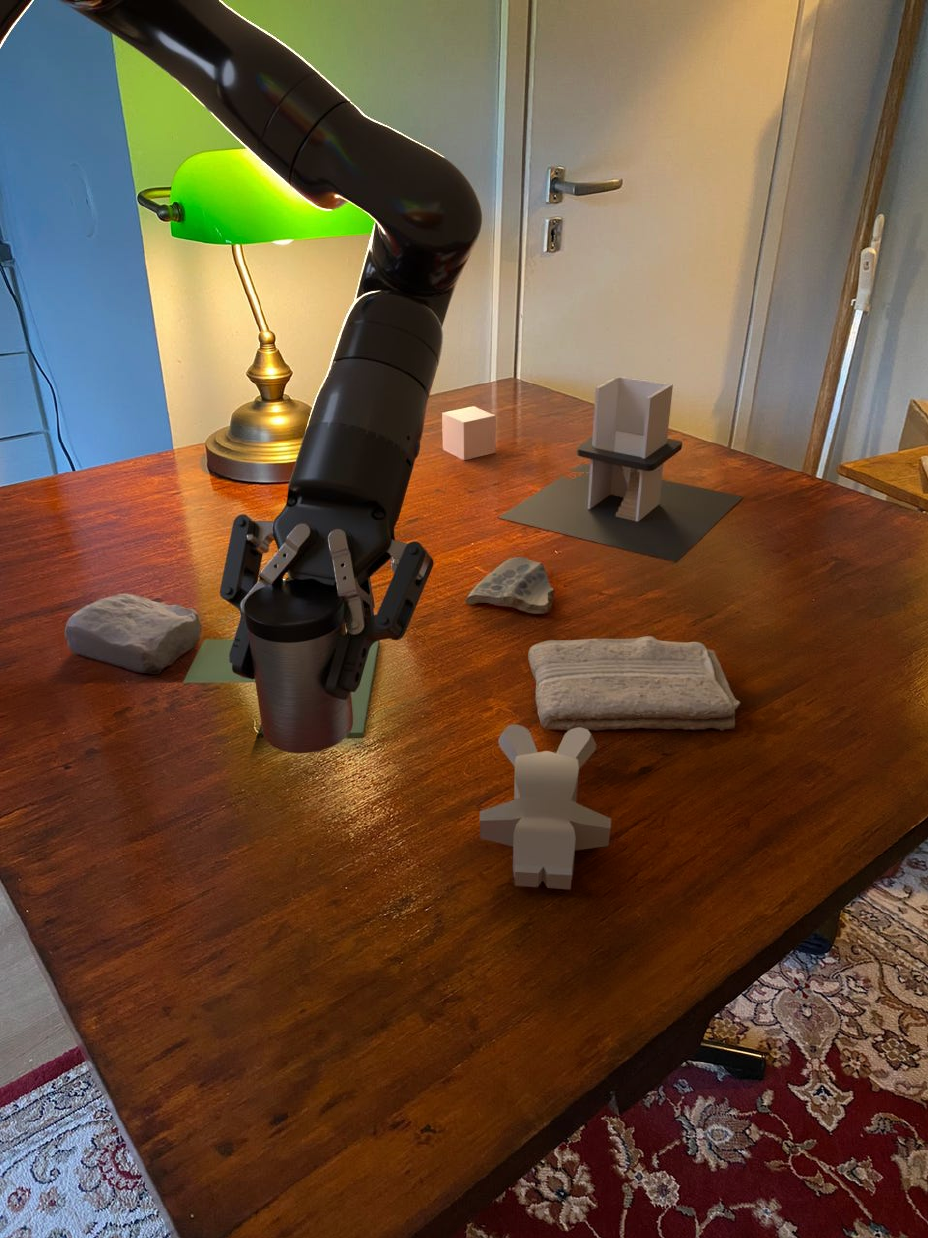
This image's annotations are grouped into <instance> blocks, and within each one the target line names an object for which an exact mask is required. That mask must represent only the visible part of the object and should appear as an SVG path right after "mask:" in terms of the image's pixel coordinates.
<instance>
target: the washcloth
mask: <svg viewBox="0 0 928 1238" xmlns="http://www.w3.org/2000/svg"><path fill="white" fill-rule="evenodd" d="M527 659H528V663H529V666H530V671H531V674H532V677H533V678H534V680H535V689H534V691H535V705H536V708H537V710H536V712H537V714H538V718H539V723H540V725H541V726H542V728H543V729H545V730H549V731H550V730H554V731H557V730H559V731H566V732H568V731H569V730H571V729H574V728H579V727H581V728H585V729H588V731H604V730H625V729H626V730H630V729H631V730H632V729H640V728H642V729H652V730H655V729H656V730H659V729H661V730H675V729H679V730H680V729H681V730H683V731H688V730H690V731H696V730H707V729H714V730H718V731H719V730H720V731H722V732H723V731H724V730H733V729H734V728H735V727H736V717H735V716H736V710H737V709H738V707H739V706H740V705H741V702H740V701H739V700H737V698H735V695H734V693H733V692H732V690H731V686H730V685H729V682H728V680H727V677H726V675H725V672H724V670H723V667H722V665H721V663H720V660H719V659H718V657H717V654H716V651H715V650H713V649H708V648H706V645H705V644H703V643H702V642H699V641H691V642H690V641H689V642H684V641H683V642H682V641H679V642H678V641H667V640H660V639H657V638H655V636H651V635H645V636H641V637H636V638H587V639H572V640H571V639H568V640H567V639H566V640H564V639H563V640H557V639H556V640H554V639H550V640H545V641H542V642H539V643H535V644H534V645H532V646H531V647H530V648H529V650H528V654H527Z"/></svg>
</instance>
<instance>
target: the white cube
mask: <svg viewBox="0 0 928 1238" xmlns="http://www.w3.org/2000/svg"><path fill="white" fill-rule="evenodd" d="M496 418H497V417H496V415H495V414H494V413H491V412H488V411H487V410H484V409H481V408H479V407H478V406H474V405H473V406H468V407H463V408H458V409H453V410H449V411H444V412H441V428H442V429H441V431H442V432H441V433H442V435H441V436H442V451H445V452H446V453H448V454H450V455H451V456H452V455H453V456H454V457H457V458H458V459H461V460H462V461H467V460H471V459H475V458H478V457H479V458H480V457H483V456H487V455H492V454H495V453H496V434H497V433H496V428H497V427H496V426H497V425H496V423H497V422H496V421H497V420H496Z"/></svg>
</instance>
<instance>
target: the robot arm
mask: <svg viewBox="0 0 928 1238" xmlns="http://www.w3.org/2000/svg"><path fill="white" fill-rule="evenodd" d="M34 1H35V0H0V49H1V47H2V46H3V44H4V42H6V39H7V37H8V36H9V34H10V33H11V31H12V30H13V28H14V27H15V26H16V24H18V22H19V20H20V19H21V18H22V17H23V15H24V14H25V12H26V11H27V10H28V9H29V7H30V6H31V5H32V3H33V2H34ZM57 2H60V3H62V4H63V5H65V6H67V7H68V8H70V9H71V10H73V11H75V12H77V13H78V14H80V15H82V16H83V17H85V18H86V19H88V20H89V21H92V22H93V23H95V24H96V25H98V26H100V27H101V28H102V29H104V30H106V31H108V32H109V33H111V34H112V35H114V36H115V37H117V38H119V39H120V40H122V41H123V42H124V43H126V44H128V45H129V46H131V47H132V48H134V49H135V50H137V51H138V52H139V53H141V54H142V55H144V56H145V57H146V58H148V59H149V60H150V61H152V62H153V63H154V64H155V65H156V66H158V67H159V68H161V69H162V70H163V71H165V72H166V73H167V74H168V75H169V76H170V77H172V78H173V79H174V80H175V81H176V82H178V83H179V84H180V85H181V86H182V87H183V88H184V89H185V90H187V92H189V93H190V94H191V95H192V96H193V97H194V98H195V99H196V100H197V101H198V102H199V103H200V104H201V105H202V106H203V107H204V108H205V109H206V110H207V111H208V112H209V113H211V115H212V116H213V117H214V118H215V119H216V120H217V121H218V122H219V123H220V124H221V125H222V126H223V127H224V128H225V129H226V130H227V131H228V132H229V133H231V134H232V136H233V137H235V139H236V140H238V141H239V143H241V144H242V145H243V146H244V147H245V148H246V149H247V150H248V151H250V153H252V155H254V156H255V157H256V158H257V159H258V160H259V161H261V162H262V163H263V165H265V166H266V167H268V169H270V170H271V171H272V172H273V173H274V174H275V175H276V176H277V177H278V178H280V179H281V180H282V181H283V182H284V183H285V184H286V185H287V186H289V187H290V188H291V189H292V190H293V191H295V193H297V194H298V195H299V196H300V197H302V199H304V200H305V201H307V202H308V203H309V204H310V205H312V206H314V207H315V208H317V209H320V210H322V211H333V210H337V209H340V208H341V207H343V206H345V205H346V204H348V203H350V204H352V205H354V206H355V207H357V208H359V209H360V210H362V211H363V212H365V213H366V214H367V215H369V216H370V217H371V218H372V219H373V220H374V221H375V222H374V225H373V229H372V232H371V237H370V239H369V243H368V247H367V251H366V255H365V257H364V262H363V266H362V270H361V273H360V277H359V281H358V286H357V289H356V294H355V297H354V301H353V303H352V305H351V306H350V308H349V311H348V313H347V314H346V317H345V319H344V322H343V324H342V328H341V330H340V332H339V336H338V338H337V342H336V345H335V349H334V351H333V354H332V357H331V361H330V363H329V368H328V371H327V373H326V375H325V377H324V380H323V381H322V383H321V385H320V387H319V390H318V391H317V394H316V397H315V399H314V403H313V405H312V409H311V411H310V416H309V417H308V421H307V425H306V428H305V431H304V434H303V437H302V440H301V444H300V447H299V450H298V453H297V456H296V460H295V463H294V466H293V469H292V472H291V475H290V479H289V482H288V486H287V496H286V503H285V505H284V507H283V508H282V510H281V511H280V513H279V514H278V515H277V516H276V517H275V518H274V520H253V519H252V518H251V517H249V516H248V515H247V514H245V513H244V514H243V513H242V514H241V513H240V514H238V515H236V517H235V518H234V519H233V522H232V527H231V532H230V537H229V543H228V546H227V552H226V557H225V563H224V568H223V573H222V579H221V585H220V588H219V596H220V598H221V599H223V600H224V601H226V602H228V603H229V604H230V605H232V606H233V607H235V608H236V609H237V610H238V611H239V613H240V619H239V622H238V625H237V629H236V632H235V634H234V638H233V639H234V641H233V644H232V647H231V650H230V653H229V660H230V663H232V664H233V665H232V671H233V672H234V673H235V674H238V675H240V676H242V677H244V678H249V679H255V676H254V669H253V662H252V655H251V649H250V642H249V635H248V628H247V625H246V620H245V613H244V604H245V601H246V599H247V598H248V597H249V596H250V595H251V594H252V593H253V592H255V591H256V590H258V589H260V588H262V587H264V586H266V585H271V586H272V585H274V584H276V583H278V582H281V581H285V580H292V579H293V580H294V579H295V580H298V581H317V582H319V583H321V584H323V585H327V586H332V587H337V591H338V596H339V598H344V619H345V627H346V635H340V638H339V641H338V644H337V647H336V651H335V654H334V657H333V661H332V664H331V668H330V671H329V675H328V678H327V682H326V685H325V692H326V693H327V694H328V695H330V696H332V697H334V698H338V699H343V700H346V699H347V698H348V696H349V693H350V692H355V691H356V690H357V688H358V687H359V685H360V682H361V678H362V675H363V670H364V667H365V664H366V660H367V657H368V653H369V650H370V647H371V646H372V644H373V643H375V642H376V641H383V640H392V641H399V640H401V639H402V638H404V636H405V635H406V632H407V630H408V627H409V625H410V623H411V620H412V618H413V616H414V613H415V610H416V608H417V606H418V603H419V601H420V598H421V596H422V594H423V591H424V589H425V587H426V584H427V582H428V579H429V577H430V575H431V573H432V569H433V567H434V564H435V563H434V559H433V557H432V556H431V555H430V553H429V552H428V551H427V549H426V548H425V547H424V546H423V545H422V544H421V543H420V542H419V541H411V542H408V543H406V542H402V541H399V540H397V539H396V537H395V527H396V525H397V523H398V521H399V519H400V515H401V512H402V508H403V505H404V502H405V498H406V493H407V491H408V487H409V484H410V480H411V476H412V472H413V469H414V465H415V461H416V459H417V458H418V456H419V454H420V450H421V441H422V438H423V434H424V429H425V423H426V422H425V421H426V414H427V408H428V403H429V399H430V395H431V392H432V388H433V384H434V381H435V377H436V374H437V370H438V367H439V364H440V360H441V355H442V349H443V344H444V343H443V342H444V331H443V326H444V323H445V319H446V317H447V312H448V310H449V308H450V307H449V306H450V303H451V301H452V299H453V296H454V293H455V290H456V287H457V285H458V282H459V280H460V277H461V275H462V273H463V270H464V269H465V267H466V264H467V262H468V261H469V259H470V256H471V254H472V252H473V250H474V248H475V246H476V244H477V242H478V239H479V237H480V236H481V235H480V234H481V231H482V226H483V211H482V205H481V202H480V200H479V197H478V195H477V193H476V191H475V190H474V187H473V186H472V184H471V183H470V182H469V180H468V179H467V177H466V176H465V175H464V174H463V172H462V171H461V170H460V169H459V168H457V166H456V165H454V164H453V163H452V161H450V160H448V159H447V158H446V157H444V156H443V155H441V154H440V153H438V152H436V151H434V150H433V149H431V148H430V147H427V146H425V145H423V144H422V143H420V142H418V141H416V140H414V139H412V138H410V137H408V136H407V135H405V134H403V133H402V132H399V131H397V130H396V129H393V128H391V127H390V126H388V125H385V124H383V123H381V122H378V121H376V120H374V119H372V118H370V117H368V116H367V115H365V114H364V113H363V111H361V110H360V108H359V107H357V106H356V105H355V104H354V103H353V102H352V101H351V100H350V99H349V98H348V97H347V96H345V94H344V93H342V92H341V91H340V90H339V89H338V88H337V87H336V86H335V85H333V83H331V82H330V81H329V80H328V79H327V78H326V77H325V76H323V75H322V74H321V73H320V72H319V71H318V70H317V69H315V67H314V66H313V65H311V64H310V63H309V62H308V61H306V60H305V59H304V58H303V57H302V56H300V55H299V54H298V53H297V52H295V51H294V50H293V49H292V48H290V47H289V46H287V45H286V44H285V43H283V42H282V41H280V40H279V39H277V38H276V37H275V36H273V35H272V34H270V33H268V32H267V31H266V30H264V29H262V28H260V27H259V26H258V25H256V24H254V23H252V22H251V21H249V20H247V19H246V18H245V17H243V16H241V15H240V14H239V13H237V12H236V11H235V10H233V9H232V8H231V7H229V6H228V5H227V4H225V2H223V1H222V0H57ZM273 541H274V542H275V545H276V548H277V551H276V553H274V555H273V556H272V557H271V559H270V560H269V561H268V562H267V564H266V565H265V566H264V567H263V568H262V570H261V565H262V559H263V556H264V555H263V554H267V553H268V552H269V551H270V545H271V544H272V542H273ZM390 560H391V562H390V569H391V571H392V572H393V575H392V577H391V580H390V582H389V584H388V587H387V588H386V591H385V594H384V596H383V598H382V601H381V603H380V606H379V608H378V610H377V613H376V614H375V607H376V605H375V599H374V592H373V585H372V581H371V577H372V576H373V575H374V574H375V573H377V572H378V571H379V570H380V569H381V568H383V566H384V565H385V564H386V563H388V562H389V561H390ZM260 570H261V571H260ZM285 575H287V577H285ZM284 577H285V579H284Z"/></svg>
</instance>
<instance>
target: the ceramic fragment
mask: <svg viewBox="0 0 928 1238" xmlns="http://www.w3.org/2000/svg"><path fill="white" fill-rule="evenodd" d="M554 599H555V589H554V588H553V587H552V586H551V584H550V580H549V577H548V574H547V571H546V569H545V567H544V565H543V563H542V562H541V561H534V560H531V559H528V558H526V557H523V556H517V557H516V556H515V557H510V558H507V559H506V560H505V561H503V562H501V564H499V565H498V566H497V567H495V568H494V569H493V570H492V571H490V573H488V574H487V575H486V576H485V577H484V578H482V580H481V581H479V582H478V583H477V584H476V585H475V587H473V589H472V590H471V591H470V592H469V594H468V595H467V597H466V598H465V604H467V605H470V606H471V605H475V604H479V603H480V604H482V603H483V604H485V603H486V604H490V605H493V606H499V607H509V608H514V609H517V610H519V611H521V612H525V613H528V614H533V615H542V614H548V613H549V612H551V611H552V606H553V602H554Z"/></svg>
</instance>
